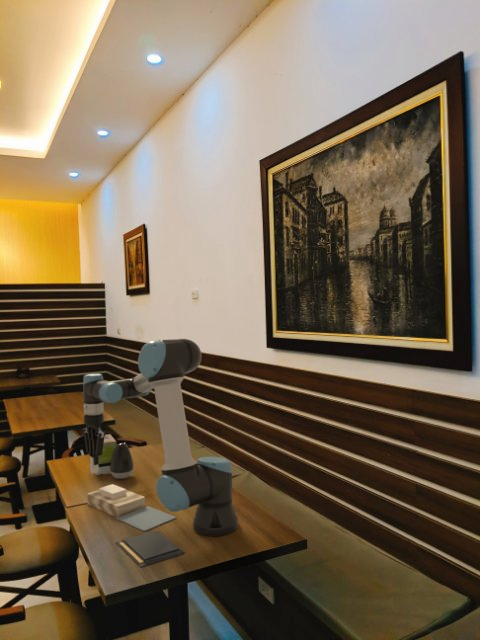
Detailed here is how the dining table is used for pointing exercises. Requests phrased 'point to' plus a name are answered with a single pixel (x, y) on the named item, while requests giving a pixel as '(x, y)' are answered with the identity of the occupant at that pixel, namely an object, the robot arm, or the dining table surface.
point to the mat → (146, 518)
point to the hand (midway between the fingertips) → (94, 472)
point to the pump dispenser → (121, 462)
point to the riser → (116, 503)
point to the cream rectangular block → (112, 491)
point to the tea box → (106, 455)
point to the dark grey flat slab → (149, 548)
